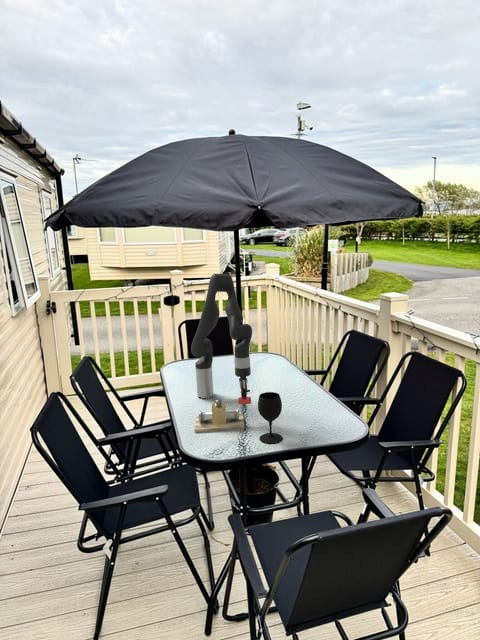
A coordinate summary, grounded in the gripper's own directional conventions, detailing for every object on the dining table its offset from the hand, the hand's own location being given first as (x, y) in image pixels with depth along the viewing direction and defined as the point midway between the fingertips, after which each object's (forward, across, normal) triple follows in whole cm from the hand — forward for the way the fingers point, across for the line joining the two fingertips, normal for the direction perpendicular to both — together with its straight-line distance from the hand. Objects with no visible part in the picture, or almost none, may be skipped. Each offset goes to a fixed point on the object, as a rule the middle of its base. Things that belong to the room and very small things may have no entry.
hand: (244, 399), depth 207 cm
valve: (+9, -3, +12) cm, 16 cm away
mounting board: (+10, -4, +12) cm, 16 cm away
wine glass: (+10, -22, -10) cm, 26 cm away
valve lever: (0, -3, +5) cm, 6 cm away
